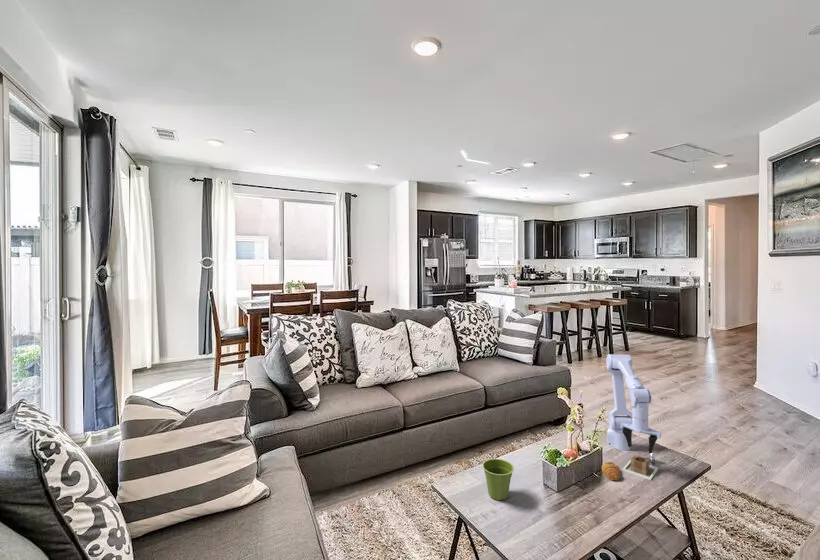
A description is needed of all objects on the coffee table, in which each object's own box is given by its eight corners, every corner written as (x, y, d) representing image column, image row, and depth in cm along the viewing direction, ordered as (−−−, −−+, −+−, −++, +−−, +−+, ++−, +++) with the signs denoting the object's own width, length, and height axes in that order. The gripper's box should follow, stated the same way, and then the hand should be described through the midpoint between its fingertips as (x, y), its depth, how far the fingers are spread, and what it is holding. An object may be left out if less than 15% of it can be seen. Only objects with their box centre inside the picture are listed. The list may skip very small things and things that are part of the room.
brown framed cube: (634, 466, 162) (634, 454, 162) (649, 471, 159) (649, 459, 158) (630, 471, 159) (630, 459, 159) (645, 476, 155) (645, 464, 155)
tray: (622, 472, 159) (622, 469, 159) (630, 463, 166) (630, 459, 166) (650, 482, 151) (650, 478, 151) (657, 472, 159) (657, 468, 158)
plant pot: (515, 506, 139) (515, 476, 138) (482, 502, 141) (482, 473, 141) (513, 487, 151) (513, 459, 150) (482, 484, 153) (482, 457, 152)
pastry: (624, 483, 152) (624, 473, 152) (605, 481, 154) (605, 472, 153) (617, 470, 161) (617, 461, 161) (600, 468, 163) (600, 460, 163)
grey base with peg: (642, 464, 165) (642, 453, 164) (646, 459, 169) (646, 448, 169) (658, 469, 160) (658, 458, 160) (662, 464, 164) (662, 453, 164)
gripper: (617, 415, 160) (617, 447, 161) (658, 425, 150) (657, 459, 150) (623, 410, 165) (623, 441, 166) (662, 420, 155) (662, 452, 155)
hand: (640, 449), depth 158 cm, fingers open, 7 cm apart
